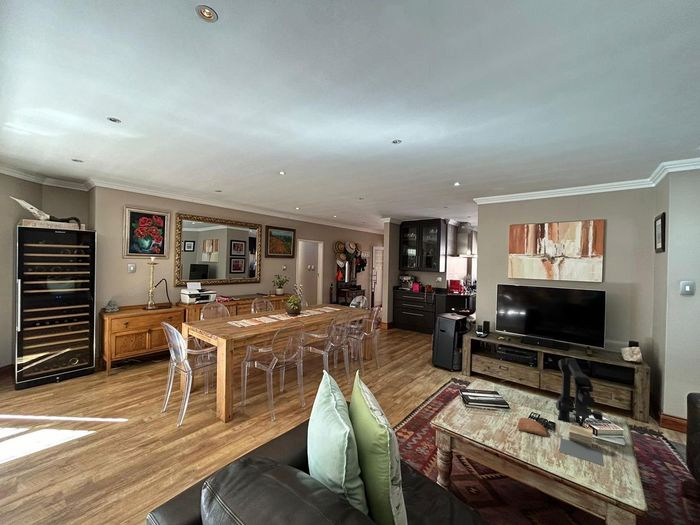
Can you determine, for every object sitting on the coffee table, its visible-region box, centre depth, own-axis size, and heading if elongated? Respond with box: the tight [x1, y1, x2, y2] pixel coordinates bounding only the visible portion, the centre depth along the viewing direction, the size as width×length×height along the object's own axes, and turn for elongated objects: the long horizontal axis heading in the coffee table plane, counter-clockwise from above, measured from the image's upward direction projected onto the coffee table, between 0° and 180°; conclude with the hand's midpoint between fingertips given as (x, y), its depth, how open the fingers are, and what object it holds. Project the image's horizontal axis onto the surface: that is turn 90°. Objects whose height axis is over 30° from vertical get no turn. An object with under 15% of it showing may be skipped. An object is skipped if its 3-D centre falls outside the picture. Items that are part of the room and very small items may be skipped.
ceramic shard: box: [517, 417, 548, 438], centre depth 188 cm, size 15×6×15 cm
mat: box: [559, 437, 604, 466], centre depth 165 cm, size 16×18×1 cm
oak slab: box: [568, 423, 593, 447], centre depth 170 cm, size 4×10×13 cm
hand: (580, 426), depth 173 cm, fingers closed
